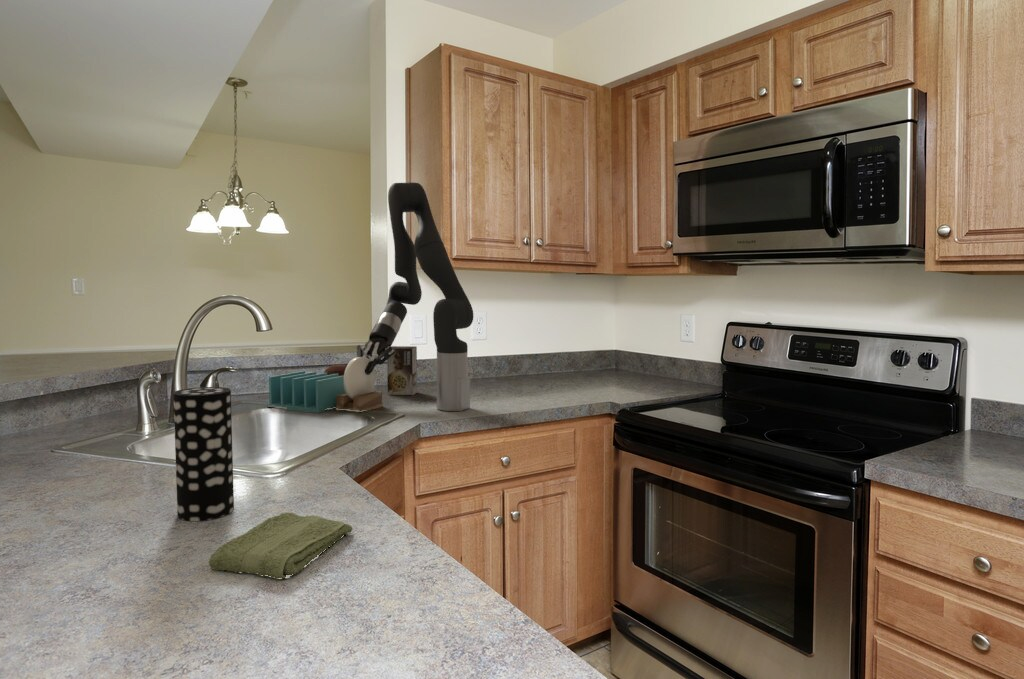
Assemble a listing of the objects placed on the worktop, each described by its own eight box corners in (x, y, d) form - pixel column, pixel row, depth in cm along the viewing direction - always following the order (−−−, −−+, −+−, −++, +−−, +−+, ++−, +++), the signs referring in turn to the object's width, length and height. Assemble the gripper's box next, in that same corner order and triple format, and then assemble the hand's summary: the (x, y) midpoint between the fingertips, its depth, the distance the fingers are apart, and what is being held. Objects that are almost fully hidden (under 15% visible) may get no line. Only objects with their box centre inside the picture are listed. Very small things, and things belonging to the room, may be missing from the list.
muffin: (316, 393, 218) (315, 364, 217) (346, 390, 225) (346, 362, 224) (331, 398, 208) (330, 368, 208) (362, 395, 216) (362, 365, 215)
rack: (352, 403, 200) (352, 374, 199) (318, 412, 185) (317, 381, 184) (303, 398, 207) (303, 370, 207) (267, 407, 193) (266, 377, 192)
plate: (376, 396, 198) (375, 355, 197) (349, 404, 186) (348, 359, 185) (370, 396, 199) (369, 354, 198) (344, 403, 187) (343, 359, 186)
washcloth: (356, 534, 97) (356, 513, 97) (288, 587, 80) (288, 562, 80) (281, 525, 100) (280, 505, 100) (200, 574, 83) (199, 550, 83)
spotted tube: (241, 503, 109) (238, 387, 107) (221, 521, 101) (217, 395, 99) (192, 503, 109) (188, 386, 107) (167, 521, 100) (163, 395, 99)
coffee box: (417, 392, 222) (417, 346, 221) (413, 395, 216) (412, 348, 215) (392, 391, 223) (391, 345, 222) (386, 394, 217) (386, 347, 215)
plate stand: (382, 406, 196) (382, 391, 196) (360, 412, 186) (360, 397, 186) (358, 404, 200) (358, 389, 199) (335, 410, 189) (335, 395, 189)
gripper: (362, 321, 204) (338, 364, 193) (399, 322, 198) (376, 366, 188) (372, 337, 209) (350, 379, 199) (409, 338, 203) (387, 381, 193)
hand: (363, 372), depth 193 cm, fingers closed on plate, 2 cm apart
